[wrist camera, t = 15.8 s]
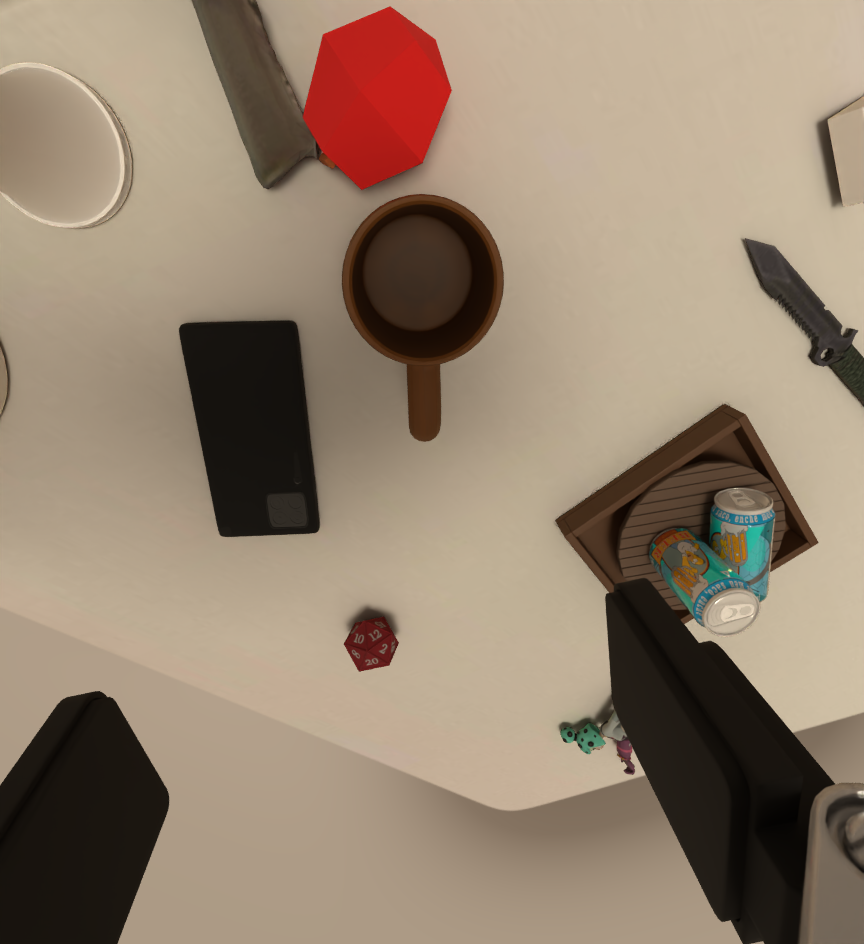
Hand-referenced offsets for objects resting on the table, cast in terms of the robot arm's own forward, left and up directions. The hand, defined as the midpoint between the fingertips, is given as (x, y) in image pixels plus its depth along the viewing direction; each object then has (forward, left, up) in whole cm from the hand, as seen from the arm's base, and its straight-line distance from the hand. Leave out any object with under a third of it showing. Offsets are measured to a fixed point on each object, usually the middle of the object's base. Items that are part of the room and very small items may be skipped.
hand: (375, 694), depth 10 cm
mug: (+4, +2, -27) cm, 28 cm away
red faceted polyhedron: (+13, +11, -23) cm, 29 cm away
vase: (-6, +21, -27) cm, 35 cm away
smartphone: (-10, +3, -27) cm, 29 cm away
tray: (+9, -22, -27) cm, 36 cm away
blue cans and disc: (+10, -22, -25) cm, 35 cm away
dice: (-14, -15, -27) cm, 34 cm away
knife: (+25, -15, -27) cm, 40 cm away
